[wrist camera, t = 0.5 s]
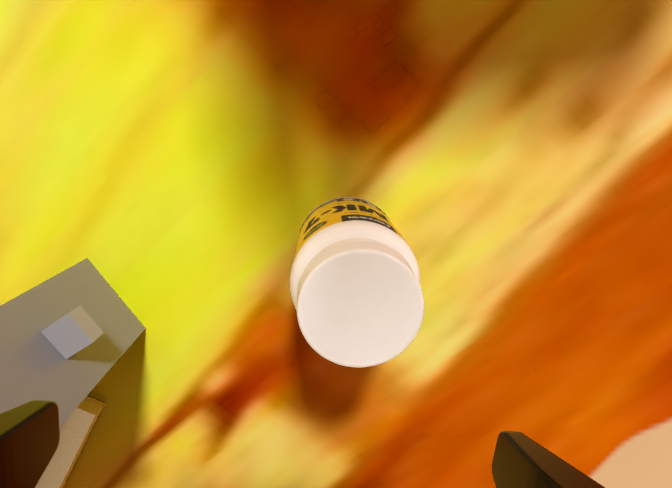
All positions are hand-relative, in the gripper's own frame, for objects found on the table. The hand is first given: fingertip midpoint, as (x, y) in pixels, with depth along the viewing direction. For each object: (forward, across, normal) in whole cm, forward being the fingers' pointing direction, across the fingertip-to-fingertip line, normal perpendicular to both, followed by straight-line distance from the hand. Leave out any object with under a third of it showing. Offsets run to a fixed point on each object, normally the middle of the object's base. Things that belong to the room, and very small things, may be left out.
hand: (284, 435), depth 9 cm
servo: (+13, +11, +4) cm, 18 cm away
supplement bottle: (+13, -2, -1) cm, 13 cm away
